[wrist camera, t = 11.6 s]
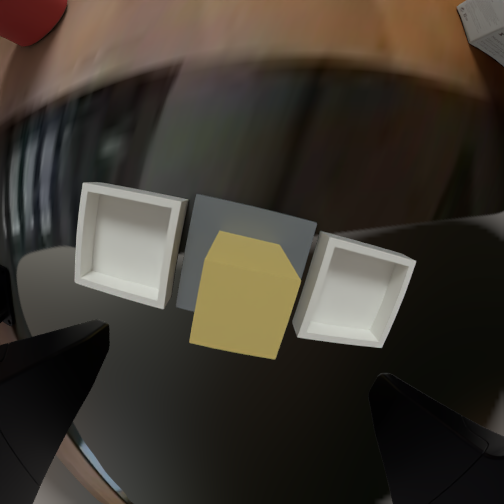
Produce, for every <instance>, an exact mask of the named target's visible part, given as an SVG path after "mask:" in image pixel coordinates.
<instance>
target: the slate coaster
mask: <svg viewBox="0 0 504 504" xmlns="http://www.w3.org/2000/svg"><path fill="white" fill-rule="evenodd" d="M316 226H317V223H316V222H313V221H310V220H306V219H302V218H298V217H294V216H291V215H287V214H283V213H279V212H275V211H271V210H267V209H262V208H258V207H254V206H250V205H246V204H241V203H237V202H233V201H228V200H224V199H220V198H215V197H210V196H206V195H201V194H196V198H195V203H194V208H193V212H192V217H191V222H190V227H189V232H188V237H187V242H186V248H185V253H184V259H183V264H182V271H181V276H180V282H179V289H178V295H177V302H176V307H177V308H181V309H185V310H189V311H194V312H195V307H196V301H197V296H198V290H199V285H200V280H201V275H202V270H203V265H204V260H205V258H206V256H207V254H208V252H209V250H210V248H211V246H212V244H213V242H214V240H215V238H216V236H217V234H218V232H219V231H223V232H228V233H232V234H236V235H241V236H245V237H249V238H254V239H258V240H262V241H266V242H271V243H275V244H279V245H280V246H281V248H282V249H283V251H284V253H285V254H286V256H287V258H288V259H289V261H290V263H291V264H292V266H293V268H294V269H295V271H296V273H297V274H298V276H299V278H300V280H301V278H302V274H303V271H304V268H305V264H306V261H307V257H308V254H309V251H310V247H311V244H312V240H313V236H314V233H315V229H316Z"/></svg>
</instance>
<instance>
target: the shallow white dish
mask: <svg viewBox="0 0 504 504" xmlns="http://www.w3.org/2000/svg"><path fill="white" fill-rule="evenodd" d="M188 201H189V200H188V199H183V198H179V197H174V196H169V195H164V194H159V193H154V192H149V191H144V190H139V189H133V188H128V187H123V186H117V185H112V184H106V183H100V182H88V183H83V186H82V193H81V200H80V208H79V216H78V226H77V238H76V255H75V256H76V257H75V283H77V284H81V285H84V286H86V287H89V288H92V289H95V290H98V291H102V292H105V293H108V294H112V295H114V296H118V297H121V298H125V299H128V300H131V301H135V302H138V303H142V304H145V305H149V306H153V307H157V308H160V309H164V308H165V306H166V305H167V303H168V301H169V300H170V298H171V297H172V289H173V283H174V277H175V270H176V264H177V258H178V253H179V247H180V241H181V236H182V231H183V226H184V221H185V216H186V211H187V206H188Z"/></svg>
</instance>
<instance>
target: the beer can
mask: <svg viewBox="0 0 504 504" xmlns="http://www.w3.org/2000/svg"><path fill="white" fill-rule="evenodd" d="M66 7H67V0H0V36H2V37H4V38H6V39H8V40H10V41H12V42H14V43H16V44H18V45H20V46H22V47H23V46H30V45H32V44H34V43H36V42H38V41H39V40H40V39H42V38H43V37H45V36H46V35H47V34H48V33H49V32H50V31H51V30H52V29H53V28H54V26H55V25H56V24H57V23H58V22H59V20H60V18H61V17H62V15H63V14H64V11H65V9H66Z"/></svg>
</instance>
